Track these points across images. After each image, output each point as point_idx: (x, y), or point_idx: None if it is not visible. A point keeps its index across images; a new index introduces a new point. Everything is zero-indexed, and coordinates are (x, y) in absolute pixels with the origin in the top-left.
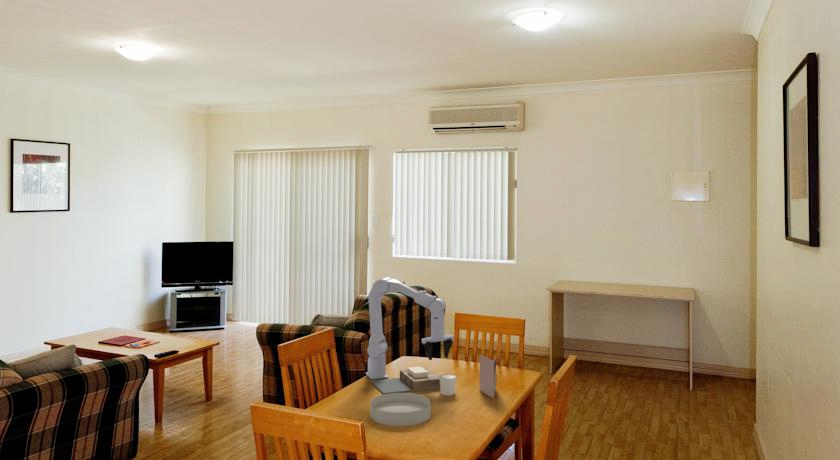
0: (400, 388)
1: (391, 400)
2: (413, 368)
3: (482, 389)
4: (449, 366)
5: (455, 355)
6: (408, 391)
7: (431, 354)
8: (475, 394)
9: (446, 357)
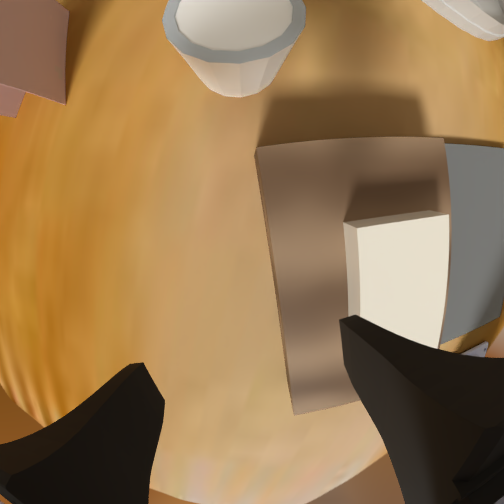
0: (461, 185)
1: (484, 31)
2: (418, 332)
3: (58, 75)
4: (155, 456)
5: None
6: None
7: (381, 343)
8: (105, 44)
9: (141, 364)
